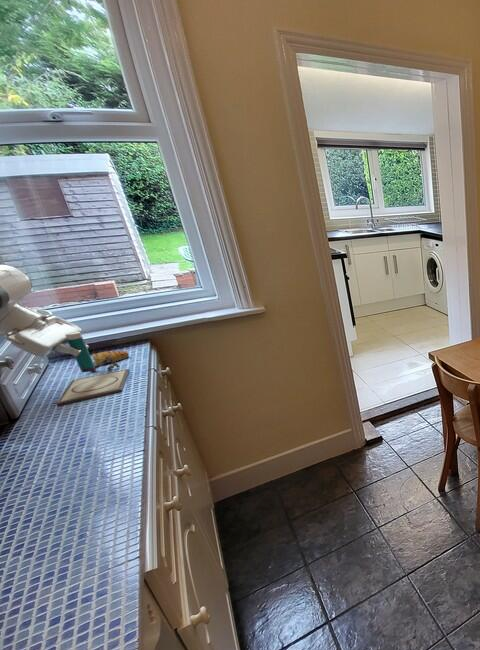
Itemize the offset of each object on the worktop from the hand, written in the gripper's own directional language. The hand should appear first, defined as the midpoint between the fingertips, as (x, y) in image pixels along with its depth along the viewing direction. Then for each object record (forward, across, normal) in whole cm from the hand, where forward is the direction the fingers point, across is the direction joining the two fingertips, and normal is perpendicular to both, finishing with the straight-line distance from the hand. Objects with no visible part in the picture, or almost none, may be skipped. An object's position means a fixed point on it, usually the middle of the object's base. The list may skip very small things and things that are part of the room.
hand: (83, 351), depth 124 cm
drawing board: (+8, -1, +8) cm, 12 cm away
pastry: (+4, +25, +12) cm, 28 cm away
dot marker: (+4, 0, +5) cm, 6 cm away
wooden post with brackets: (+5, +16, +11) cm, 20 cm away
